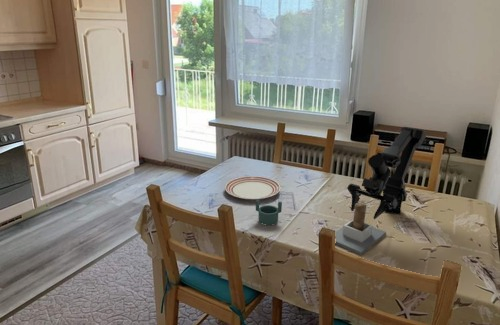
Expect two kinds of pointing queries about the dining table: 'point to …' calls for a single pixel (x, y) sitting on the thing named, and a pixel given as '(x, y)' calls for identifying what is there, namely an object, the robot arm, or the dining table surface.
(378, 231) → the cup socket
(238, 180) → the dinner plate
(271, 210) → the teal handled pot
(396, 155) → the robot arm
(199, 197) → the dining table surface
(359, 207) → the dowel post
